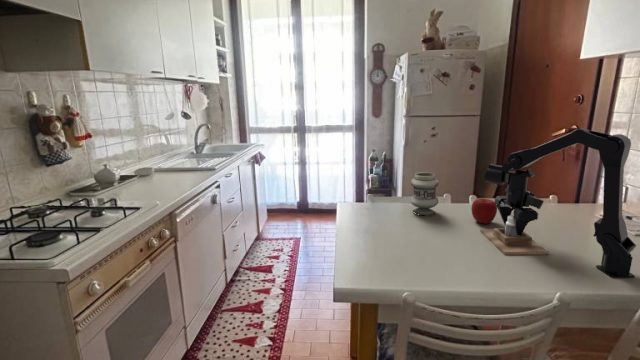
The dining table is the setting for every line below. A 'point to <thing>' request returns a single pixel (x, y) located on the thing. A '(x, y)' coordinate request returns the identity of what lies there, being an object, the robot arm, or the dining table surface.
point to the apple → (484, 210)
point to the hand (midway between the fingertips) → (512, 230)
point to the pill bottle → (510, 227)
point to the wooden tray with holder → (513, 242)
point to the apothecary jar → (424, 193)
